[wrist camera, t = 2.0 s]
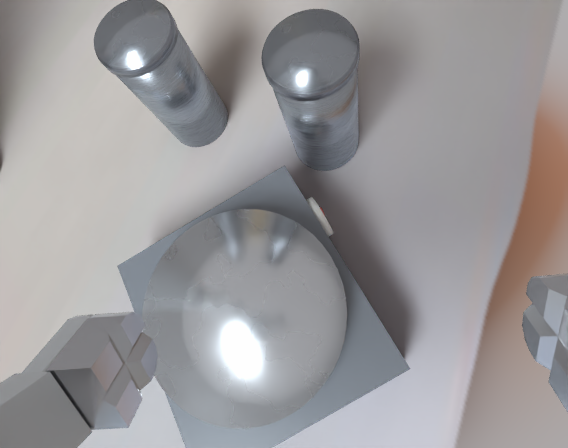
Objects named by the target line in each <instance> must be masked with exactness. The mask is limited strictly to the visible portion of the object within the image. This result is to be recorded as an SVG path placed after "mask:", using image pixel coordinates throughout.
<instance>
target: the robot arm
mask: <svg viewBox="0 0 568 448" xmlns="http://www.w3.org/2000/svg"><path fill="white" fill-rule="evenodd" d="M526 294H527V296H528V297H529V299H530V300H531V301H532V305H530V306H529V307H528V308H527V309H526V310H525V311H524V313H523V324H522V326H523V332H524V337H525V341H526V343H527V346H528V348H529V351H530V352H531V354H532V355H533V357H534V359H535V361H536V362H538V363H539V364H541V365H543V366H544V367H546V368H548V369H549V370H551V372H550V377H549V383H550V385H551V387H552V388H553V390H554V391H555V393H556V394H557V396H558V398H559V399H560V401H561V403H562V404H563V406H564V407H565V409H566V410H567V412H568V274H558V275H547V276H536V277H532V278H531V279H530V281H529V282H528V286H527V292H526ZM144 327H145V323H144V321H143V319H142V318H141V316H140V314H138V313H135V312H123V313H107V314H94V315H81V316H75V317H72V318H70V319H68V320H67V321H66V322H65V323H64V325H63V326H62V327H61V328H60V329H59V330H58V332H57V333H56V334H55V335H54V336H53V337H52V338H51V340H50V341H49V342H48V343H47V344H46V345H45V347H44V348H43V349H42V350H41V351H40V352H39V354H38V355H37V356H36V357H35V358H34V359H33V360H32V362H31V363H30V364H29V365H28V366H27V367H26V369H25V370H24V371H23V372H22V373H19V374H14V375H12V376H11V377H9V378H8V379H6V380H4V381H3V382H1V383H0V448H77V447H78V446H79V445H80V444H81V443H82V442H83V441H84V440H85V439H86V438H87V437H88V436H89V435H90V434H91V433H92V430H97V429H114V428H129V426H130V424H131V421H132V419H133V417H134V415H135V413H136V411H137V409H138V407H139V405H140V403H141V401H142V395H141V391H140V390H141V389H142V388H144V387H145V386H146V385H147V384H148V383H149V382H150V381H151V380H152V378H153V376H154V373H155V371H156V367H157V360H158V354H157V349H156V345H155V343H154V341H153V339H152V338H150V337H149V336H148V335H146V334H145V333H143V330H144Z"/></svg>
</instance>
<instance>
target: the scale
mask: <svg viewBox="0 0 568 448" xmlns="http://www.w3.org/2000/svg"><path fill="white" fill-rule="evenodd" d="M239 209H258V210H265V211H270V212H274V213H277V214H280V215H283V216H285V217H287V218H289V219H292V220H294V221H295V222H297V223H298V224H300V225H302V226H303V227H305V228H306V229H307V230H308V231H309V232H311V233H312V234H313V235H314V236H315V237H316V238H317V239H318V240H319V241H320V242H321V244H322V245H323V246H324V247H325V249H326V250H327V252H328V253H329V255H330V256H331V258H332V260H333V262H334V264H335V265H336V267H337V269H338V272H339V275H340V277H341V280H342V283H343V287H344V291H345V296H346V303H347V329H346V334H345V340H344V344H343V347H342V350H341V354H340V357H339V359H338V361H337V363H336V365H335V367H334V369H333V371H332V373H331V374H330V376H329V377H328V379H327V381H326V382H325V384H324V385H323V386H322V387H321V388H320V390H319V391H318V392H317V393H316V394H315V396H314V397H313V398H311V399H310V400H309V401H308V402H307V403H306V404H305V405H304V406H303V407H301V408H300V409H298V410H297V411H295V412H294V413H292V414H291V415H289V416H287V417H285V418H283V419H281V420H279V421H277V422H274V423H271V424H268V425H264V426H261V427H254V428H247V429H232V428H226V427H220V426H216V425H213V424H209V423H206V422H204V421H202V420H200V419H198V418H196V417H194V416H192V415H190V414H189V413H187V412H186V411H185V410H183V409H182V408H180V407H179V406H178V405H177V404H176V403H175V402H174V401H173V400H172V399H171V398H170V397H169V396H168V395H167V394H166V392H165V394H166V396H167V399H168V402H169V404H170V407H171V410H172V412H173V415H174V418H175V420H176V423H177V426H178V428H179V431H180V434H181V436H182V439H183V442H184V444H185V447H186V448H272V447H274V446H276V445H278V444H279V443H281V442H283V441H285V440H286V439H288V438H290V437H292V436H293V435H295V434H297V433H299V432H300V431H302V430H304V429H306V428H307V427H309V426H311V425H313V424H314V423H316V422H318V421H320V420H321V419H323V418H325V417H327V416H328V415H330V414H332V413H334V412H335V411H337V410H339V409H341V408H342V407H344V406H346V405H348V404H349V403H351V402H353V401H355V400H356V399H358V398H360V397H362V396H363V395H365V394H367V393H369V392H370V391H372V390H374V389H376V388H378V387H379V386H381V385H383V384H385V383H386V382H388V381H390V380H392V379H393V378H395V377H397V376H399V375H400V374H402V373H404V372H406V371H407V370H409V369H410V368H409V366H408V364H407V363H406V361H405V360H404V358H403V356H402V355H401V353H400V352H399V350H398V348H397V347H396V345H395V343H394V342H393V340H392V339H391V337H390V335H389V334H388V332H387V331H386V329H385V327H384V326H383V324H382V322H381V321H380V319H379V318H378V316H377V314H376V313H375V311H374V310H373V308H372V306H371V305H370V303H369V301H368V300H367V298H366V297H365V295H364V293H363V292H362V290H361V288H360V287H359V285H358V284H357V282H356V280H355V279H354V277H353V276H352V274H351V272H350V271H349V269H348V267H347V266H346V264H345V263H344V261H343V259H342V258H341V256H340V255H339V253H338V251H337V250H336V248H335V246H334V245H333V243H332V242H331V240H330V238H329V236H330V235H332V234H334V233H333V230H332V228H331V226H330V225H329V223H328V221H327V219H326V217H325V214H324V211H323V209H322V208H321V207H320V208H319V206H318V204H317V203H316V201H315V200H314V199H313V198H312V197H311V198H309V199H307V200H305V198H304V196H303V195H302V193H301V192H300V190H299V188H298V187H297V185H296V183H295V182H294V180H293V179H292V177H291V175H290V174H289V172H288V170H287V169H286V167H285V166H283V167H281V168H280V169H278V170H276V171H275V172H273V173H271V174H270V175H268V176H266V177H265V178H263V179H261V180H260V181H258V182H256V183H255V184H253V185H251V186H250V187H248V188H246V189H245V190H243V191H241V192H240V193H238V194H236V195H235V196H233V197H231V198H230V199H228V200H226V201H225V202H223V203H221V204H220V205H218V206H216V207H215V208H213V209H211V210H210V211H208V212H206V213H205V214H203V215H201V216H200V217H198V218H196V219H195V220H193V221H191V222H190V223H188V224H186V225H185V226H183V227H181V228H180V229H178V230H176V231H175V232H173V233H171V234H170V235H168V236H167V237H165V238H163V239H162V240H160V241H158V242H157V243H155V244H153V245H152V246H150V247H148V248H147V249H145V250H143V251H142V252H140V253H138V254H137V255H135V256H133V257H132V258H130V259H128V260H127V261H125V262H123V263H122V264H120V265H118V269H119V271H120V274H121V277H122V279H123V282H124V285H125V287H126V290H127V293H128V295H129V298H130V301H131V303H132V306H133V309H134V311H135V313H138V314H140V316H141V318H142V311H143V304H144V298H145V294H146V291H147V287H148V284H149V281H150V279H151V277H152V274H153V272H154V270H155V268H156V266H157V264H158V263H159V261H160V259H161V258H162V256H163V255H164V254H165V252H166V251H167V249H168V248H169V247H170V246H171V245H172V244H173V243H174V242H175V240H176V239H177V238H179V237H180V236H181V235H182V234H183V233H184V232H185V231H187V230H188V229H190V228H191V227H192V226H194V225H195V224H197V223H199V222H201V221H203V220H204V219H206V218H208V217H211V216H214V215H216V214H219V213H223V212H227V211H231V210H239Z"/></svg>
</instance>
